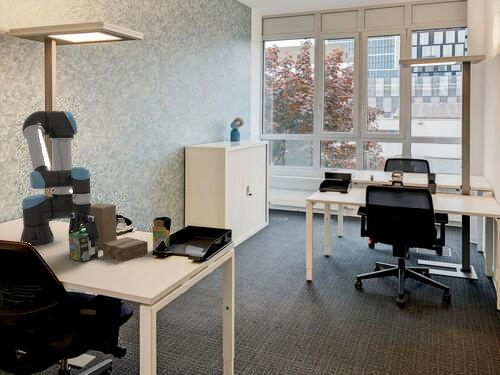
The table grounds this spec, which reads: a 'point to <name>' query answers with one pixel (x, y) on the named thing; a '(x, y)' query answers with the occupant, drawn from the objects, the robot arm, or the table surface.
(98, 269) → the table surface
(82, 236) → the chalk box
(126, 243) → the walnut block
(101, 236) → the wooden block
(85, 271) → the table surface
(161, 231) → the crayon box
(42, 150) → the robot arm
